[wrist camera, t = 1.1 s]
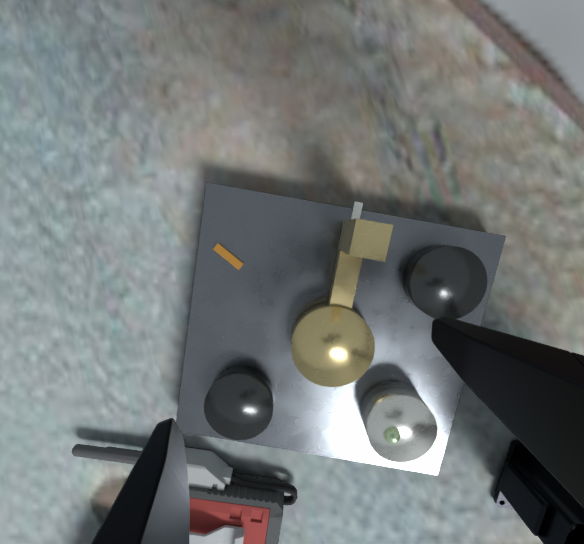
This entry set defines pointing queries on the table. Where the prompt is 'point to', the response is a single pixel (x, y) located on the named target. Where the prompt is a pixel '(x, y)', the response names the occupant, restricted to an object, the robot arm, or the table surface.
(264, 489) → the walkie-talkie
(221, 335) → the instrument base
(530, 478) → the robot arm
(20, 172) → the table surface
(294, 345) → the brass knob
